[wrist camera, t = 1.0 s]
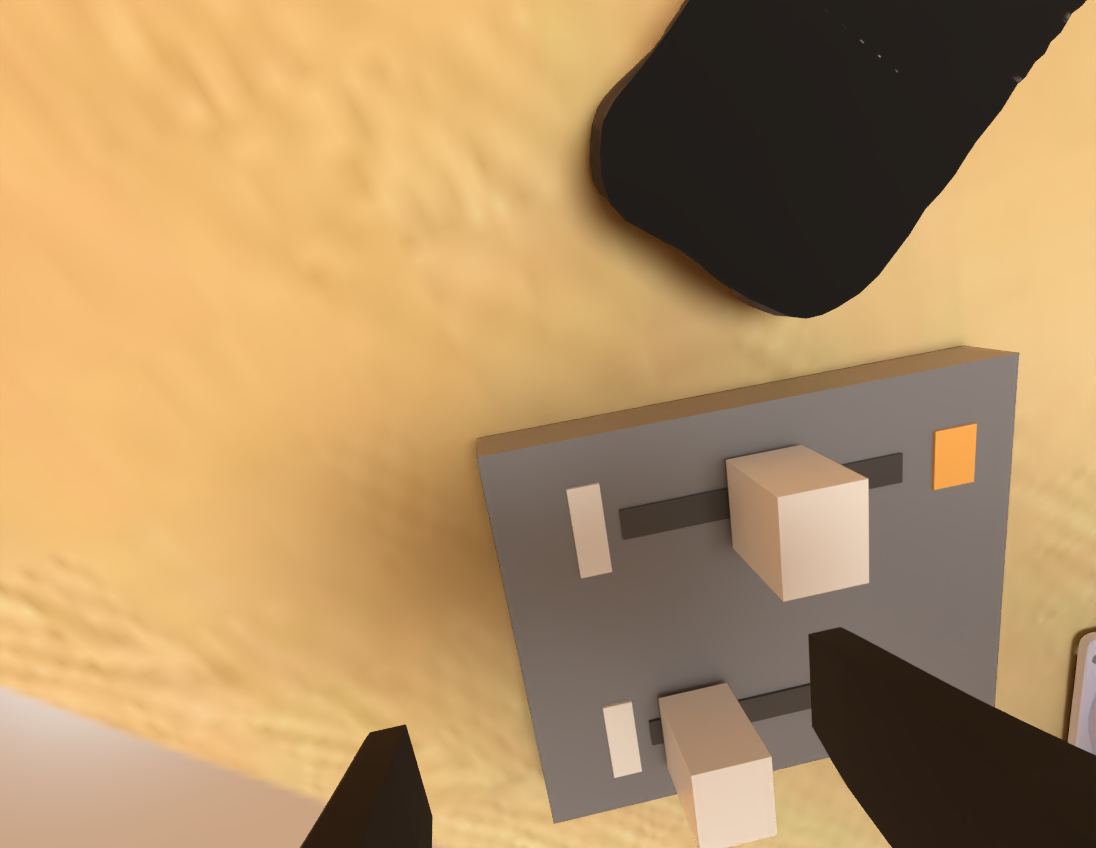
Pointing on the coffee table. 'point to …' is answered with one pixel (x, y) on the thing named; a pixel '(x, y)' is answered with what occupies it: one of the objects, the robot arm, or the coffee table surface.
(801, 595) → the block
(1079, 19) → the coffee table surface
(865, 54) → the black sponge
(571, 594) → the grey flat block
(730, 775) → the block
